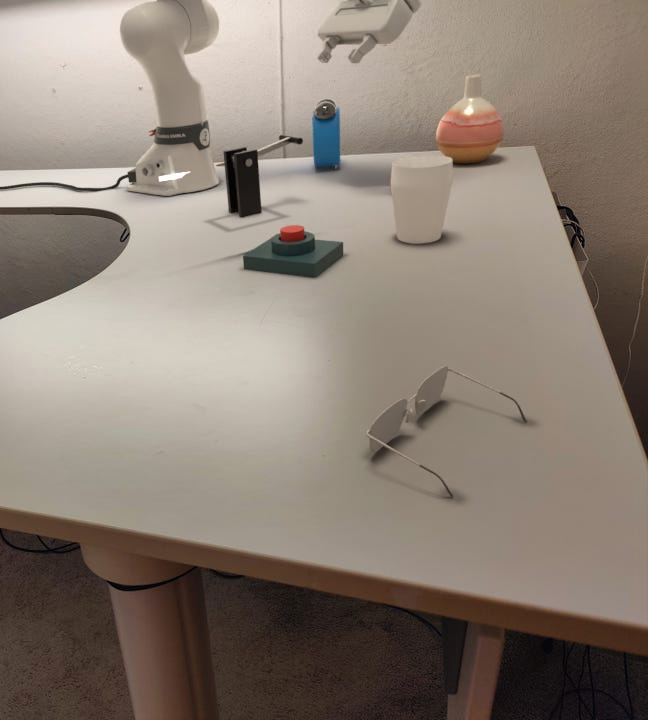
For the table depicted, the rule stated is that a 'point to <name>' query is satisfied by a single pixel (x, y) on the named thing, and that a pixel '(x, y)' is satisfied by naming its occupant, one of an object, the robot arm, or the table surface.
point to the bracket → (243, 182)
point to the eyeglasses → (424, 399)
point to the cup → (421, 196)
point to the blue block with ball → (326, 134)
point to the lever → (275, 145)
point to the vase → (470, 126)
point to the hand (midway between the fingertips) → (336, 61)
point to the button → (292, 233)
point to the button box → (294, 256)
